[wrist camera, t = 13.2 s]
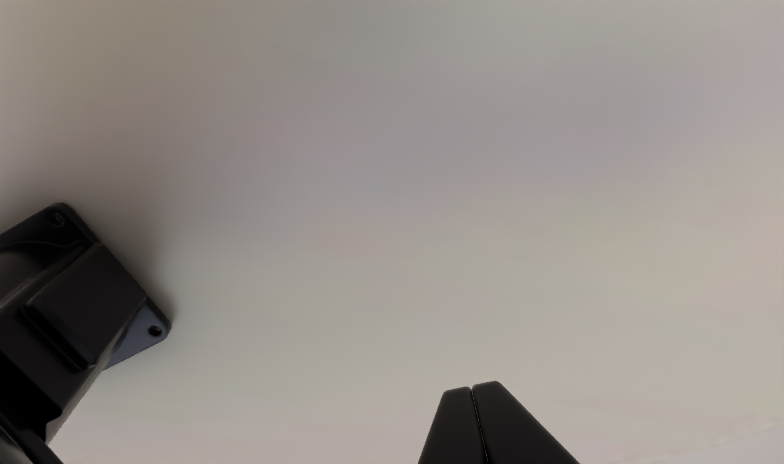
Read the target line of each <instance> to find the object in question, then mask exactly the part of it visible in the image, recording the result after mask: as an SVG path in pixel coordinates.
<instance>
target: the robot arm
mask: <svg viewBox="0 0 784 464" xmlns="http://www.w3.org/2000/svg"><path fill="white" fill-rule="evenodd" d="M55 213H57V214H59V215H60V216H61V217H62V219H63V222H62V221H59V220H58V219H57V218H56V217H55ZM153 326H157V327H159V328H160V329H161V331H159V330H156V329H154V328H153ZM170 330H171V323H170V322H169V320H168V319H167V318H166V317H165V315H164V314H163V313H162V312H161V311H160V310H159V308H158V307H157V306H156V305H155V304H154V303H153V302H152V300H151V299H150V298H149V297H148V296H147V295H146V293H145V291H144V290H143V289H142V288H141V287H140V286H139V284H138V283H137V282H136V281H135V280H134V279H133V277H132V276H131V275H130V274H129V273H128V272H127V270H126V269H125V268H124V267H123V266H122V265H121V264H120V262H119V261H118V260H117V259H116V258H115V257H114V255H113V254H112V253H111V252H110V251H109V250H108V249H107V247H106V246H105V245H103V244H102V243H101V242H100V240H99V239H98V238H97V237H96V236H95V235H94V233H93V232H92V231H91V230H90V229H89V228H88V227H87V225H86V224H85V223H84V222H83V221H82V220H81V218H80V217H79V216H78V215H77V214H76V213H75V212H74V210H73V209H72V208H71V207H69V206H68V205H66V204H64V203H53V204H51V205H49V206H48V207H46V208H44V209H43V210H41V211H39V212H38V213H36V214H34V215H32V216H31V217H29V218H27V219H26V220H24V221H22V222H21V223H19V224H17V225H16V226H14V227H12V228H11V229H9V230H7V231H5V232H4V233H2V234H0V464H63V462H62V461H61V460H60V459H59V458H58V457H57V456H56V455H55V453H54V452H53V451H52V450H51V449H50V448H49V447H48V446H47V445H48V444H49V443H50V441H51V440H52V439H53V437H54V436H55V434H56V433H57V432H58V430H59V429H60V428H61V426H62V425H63V423H64V422H65V421H66V419H67V418H68V417H69V415H70V414H71V413H72V411H73V410H74V408H75V407H76V406H77V404H78V403H79V402H80V400H81V399H82V397H83V396H84V395H85V393H86V392H87V391H88V389H89V388H90V386H91V385H92V384H93V382H94V381H95V380H96V378H97V377H98V375H99V374H100V373H101V371H103V370H105V369H107V368H109V367H111V366H113V365H115V364H117V363H119V362H121V361H123V360H125V359H127V358H129V357H131V356H133V355H135V354H137V353H139V352H141V351H143V350H145V349H147V348H149V347H151V346H153V345H155V344H157V343H159V342H161V341H163V340H164V339H165V338H166V337H167V336H168V334H169V332H170ZM472 393H473V395H472ZM473 397H474V399H473ZM474 402H475V403H474ZM475 406H476V408H475ZM476 411H477V412H476ZM477 415H478V416H477ZM478 420H479V421H478ZM479 424H480V425H479ZM480 429H481V430H480ZM481 433H482V434H481ZM482 437H483V438H482ZM483 442H484V443H483ZM484 446H485V447H484ZM485 451H486V452H485ZM486 455H487V456H486ZM487 459H488V461H487ZM418 464H580V463H579V462H578V461H577V460H576V459H575V458H574V457H573V456H572V455H571V454H570V453H569V452H568V451H567V450H566V449H565V448H564V447H563V446H562V445H561V444H560V443H559V442H558V441H557V440H556V439H555V438H554V437H553V436H552V435H551V434H550V433H549V432H548V431H547V430H546V429H545V428H544V427H543V426H542V425H541V424H540V423H539V422H538V421H537V420H536V419H535V418H534V417H533V416H532V415H531V414H530V413H529V412H528V411H527V410H526V409H525V408H524V407H523V406H522V405H521V404H520V403H519V402H518V401H517V399H516V398H515V397H514V396H513V395H512V394H511V393H510V392H509V391H508V390H507V389H506V388H505V387H504V386H503V385H502V384H501V383H499V382H497V381H491V382H486V383H481V384H476V385H474V386H473V387H472V390H471V389H470V388H469V387H461V388H456V389H451V390H447V391H445V392H444V393H443V395H442V398H441V401H440V403H439V406H438V409H437V412H436V415H435V417H434V420H433V423H432V426H431V428H430V431H429V434H428V437H427V439H426V442H425V445H424V448H423V451H422V453H421V456H420V459H419V462H418Z"/></svg>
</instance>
